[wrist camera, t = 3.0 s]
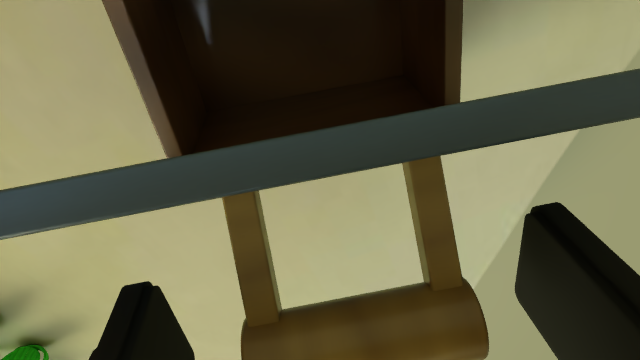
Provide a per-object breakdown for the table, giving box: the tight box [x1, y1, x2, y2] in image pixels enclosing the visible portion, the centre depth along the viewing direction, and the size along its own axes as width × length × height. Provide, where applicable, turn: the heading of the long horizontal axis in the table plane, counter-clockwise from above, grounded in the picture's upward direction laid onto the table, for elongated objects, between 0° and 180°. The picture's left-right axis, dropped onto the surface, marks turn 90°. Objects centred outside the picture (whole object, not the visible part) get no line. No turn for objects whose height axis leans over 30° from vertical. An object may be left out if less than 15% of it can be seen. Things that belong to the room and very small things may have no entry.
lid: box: [0, 69, 640, 360], centre depth 13 cm, size 13×14×5 cm
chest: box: [102, 0, 463, 158], centre depth 20 cm, size 12×14×8 cm
